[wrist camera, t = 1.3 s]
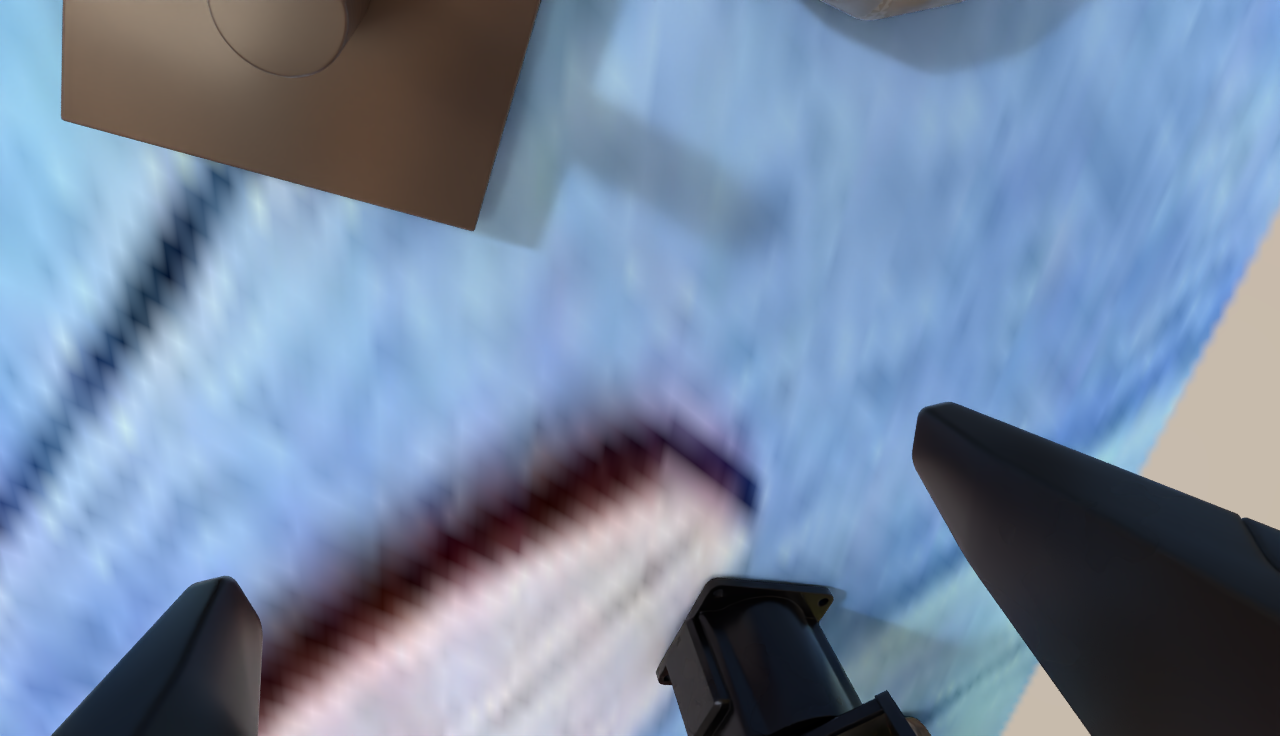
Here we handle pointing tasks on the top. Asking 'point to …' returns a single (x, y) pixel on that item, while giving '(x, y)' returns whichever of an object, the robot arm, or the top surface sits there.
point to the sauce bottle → (917, 727)
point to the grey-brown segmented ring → (885, 7)
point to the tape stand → (309, 89)
